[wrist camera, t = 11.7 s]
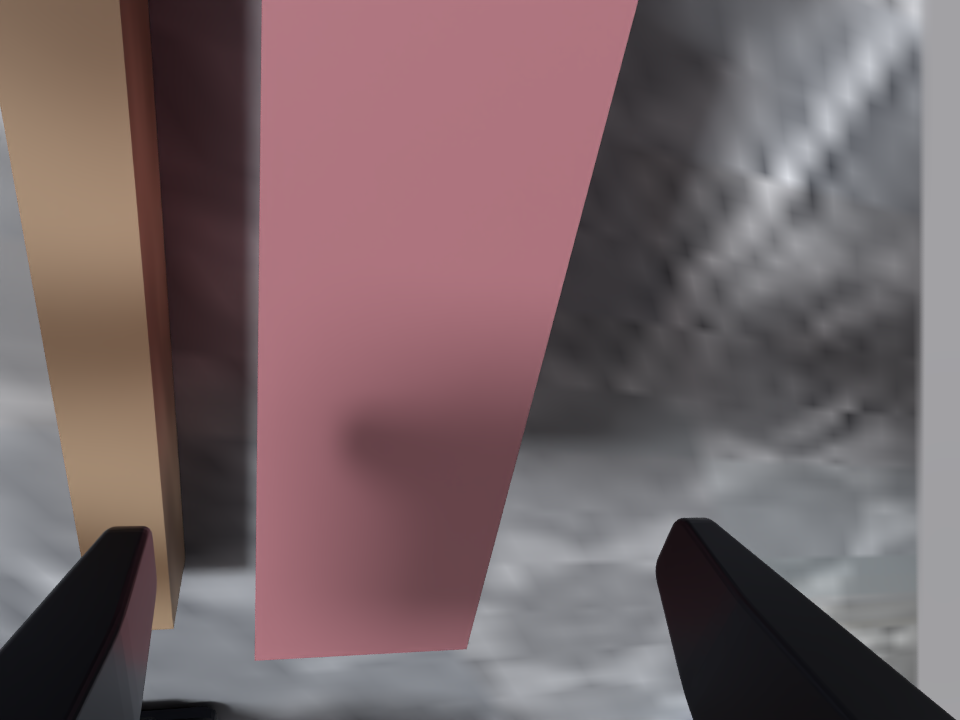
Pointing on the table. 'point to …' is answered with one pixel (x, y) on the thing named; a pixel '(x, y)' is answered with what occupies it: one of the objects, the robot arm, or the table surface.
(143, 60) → the rail
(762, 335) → the table surface
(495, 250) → the boxed book
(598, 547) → the table surface
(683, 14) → the table surface
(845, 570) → the table surface
